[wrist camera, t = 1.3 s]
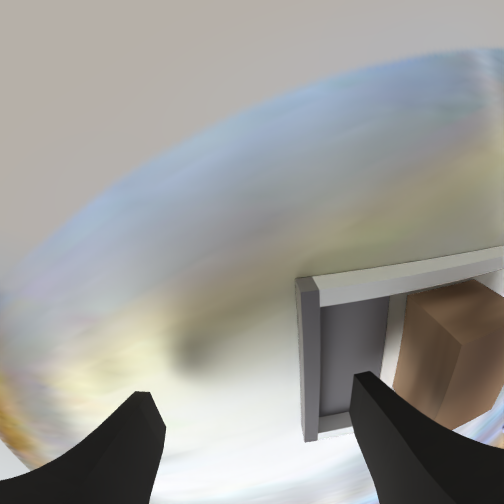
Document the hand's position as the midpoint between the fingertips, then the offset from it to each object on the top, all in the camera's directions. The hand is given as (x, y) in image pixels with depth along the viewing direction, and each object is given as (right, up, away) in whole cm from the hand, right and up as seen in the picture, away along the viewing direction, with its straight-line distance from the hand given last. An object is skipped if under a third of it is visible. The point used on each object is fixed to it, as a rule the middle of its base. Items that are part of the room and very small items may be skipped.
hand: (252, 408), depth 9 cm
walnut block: (+8, +2, +2) cm, 9 cm away
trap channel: (+8, +1, +2) cm, 8 cm away
